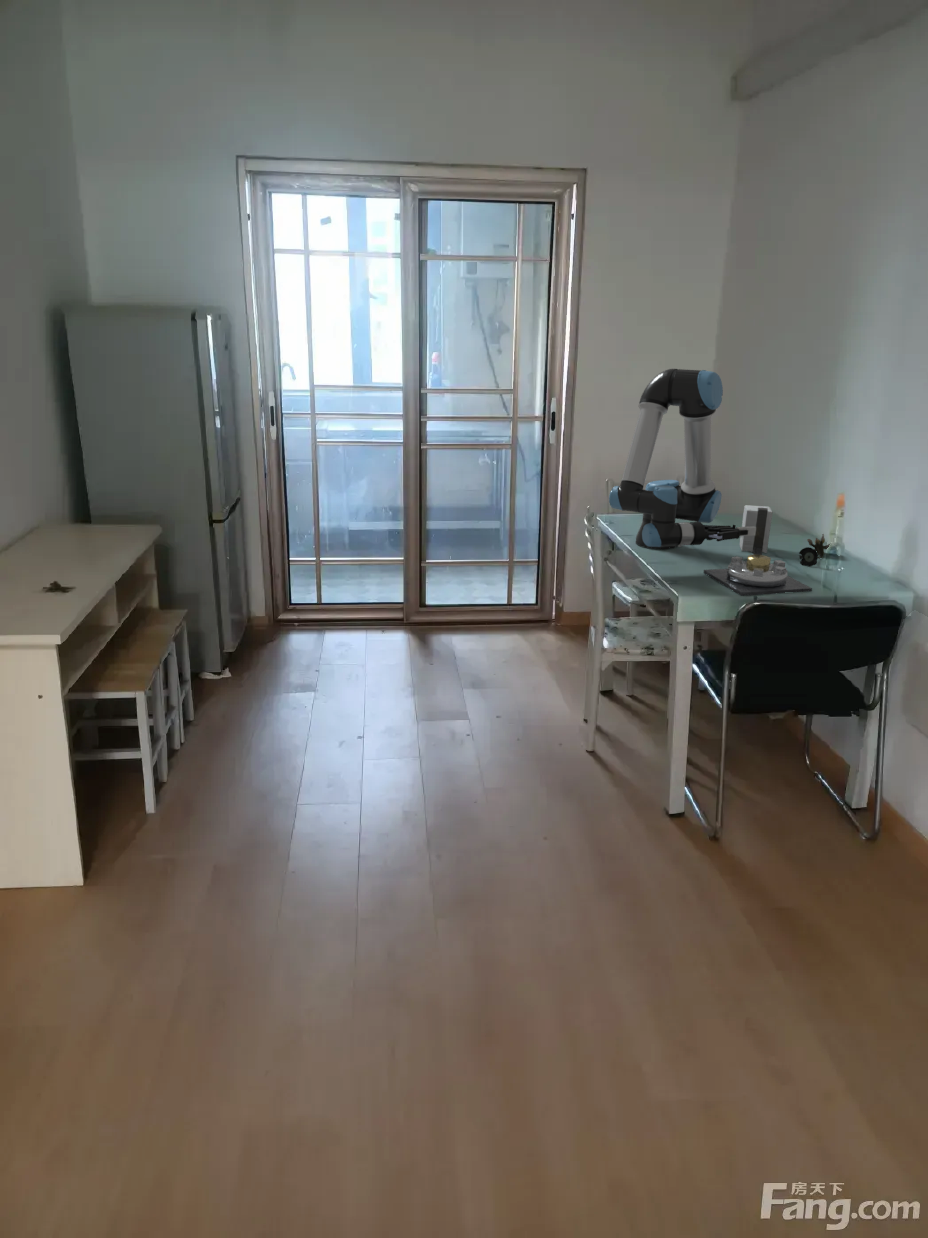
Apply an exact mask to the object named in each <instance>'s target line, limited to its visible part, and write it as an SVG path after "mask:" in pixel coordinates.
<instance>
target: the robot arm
mask: <svg viewBox="0 0 928 1238" xmlns="http://www.w3.org/2000/svg"><path fill="white" fill-rule="evenodd" d="M723 389H724V388H723V382H722V379H721V377H720V375H719V374H718V373H717V372H715V371H709V370H706V369H705V370H704V369H702V370H699V369H696V370H695V369H685V368H683V369H681V368H679V369H678V368H669V369H665V370H663V371H661V372H659V373H658V374H656V376H654V377H653V378H652V379H651V380H650V381H649V383H648V384H647V385H646V387H645V388H644V390H643V392H642V394H641V396H640V399H639V402H638V408H639V414H638V417H637V422H636V424H635V429H634V432H633V436H632V440H631V444H630V447H629V451H628V455H627V459H626V462H625V465H624V470H623V473H622V478H621V481H620V485H615V486H613V487H612V489H611V490H610V492H609V496H608V502H609V506H610V507H611V508H612V509H614V510H615V509H616V510H620V511H625V512H635V513H639V514H640V513H641V514H642V522H641V524H640V527H639V529H638V532H637V534H636V537H635V545H637V546H639V547H642V548H647V549H653V550H669V549H670V550H671V549H675V548H677V547H678V548H682V546H700V545H702V544H703V543H704V541H705V540H706V541H713V540H716V542H721V541H727V540H734V539H736V540H738V539H740V537H741V536H754V535H755V533H756V527H742V526H739V527H738V526H737V527H736V525H735V524H732V526H731V525H716V524H715V525H713V524H712V525H710V523H712V522H713V521H714V519H715V518H716V516H717V515H718V512H719V510H720V506H721V502H722V497H723V496H722V492H721V491H720V490H719V489H716V483H715V481H714V480H712V466H711V465H712V416H713V415H714V414H715V413H716V410H717V409H719V407H720V406H721V403H722V402H723V401H722V400H723V397H722V396H723V391H724V390H723ZM670 406H673V407H674V406H675V407H678V413H679V415H680V416H681V417H682V418H683V427H684V428H683V429H684V430H683V432H684V433H683V434H684V435H683V436H684V439H683V440H684V481H683V482H680V481H679V480H676V479H660V480H653V481H650V482H648V483H647V484H646V486H645V482H646V479H647V475H648V472H649V467H650V465H651V460H652V457H653V452H654V450H655V445H656V443H657V439H658V435H659V431H660V427H661V425H662V424H661V423H662V420H663V417H664V415H666V414H667V413H668V410H669V407H670ZM680 483H681V485H680ZM644 486H645V489H644ZM676 520H681V521H682V520H683V521H686V522H676ZM688 521H689V522H688ZM707 524H709V525H707Z"/></svg>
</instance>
